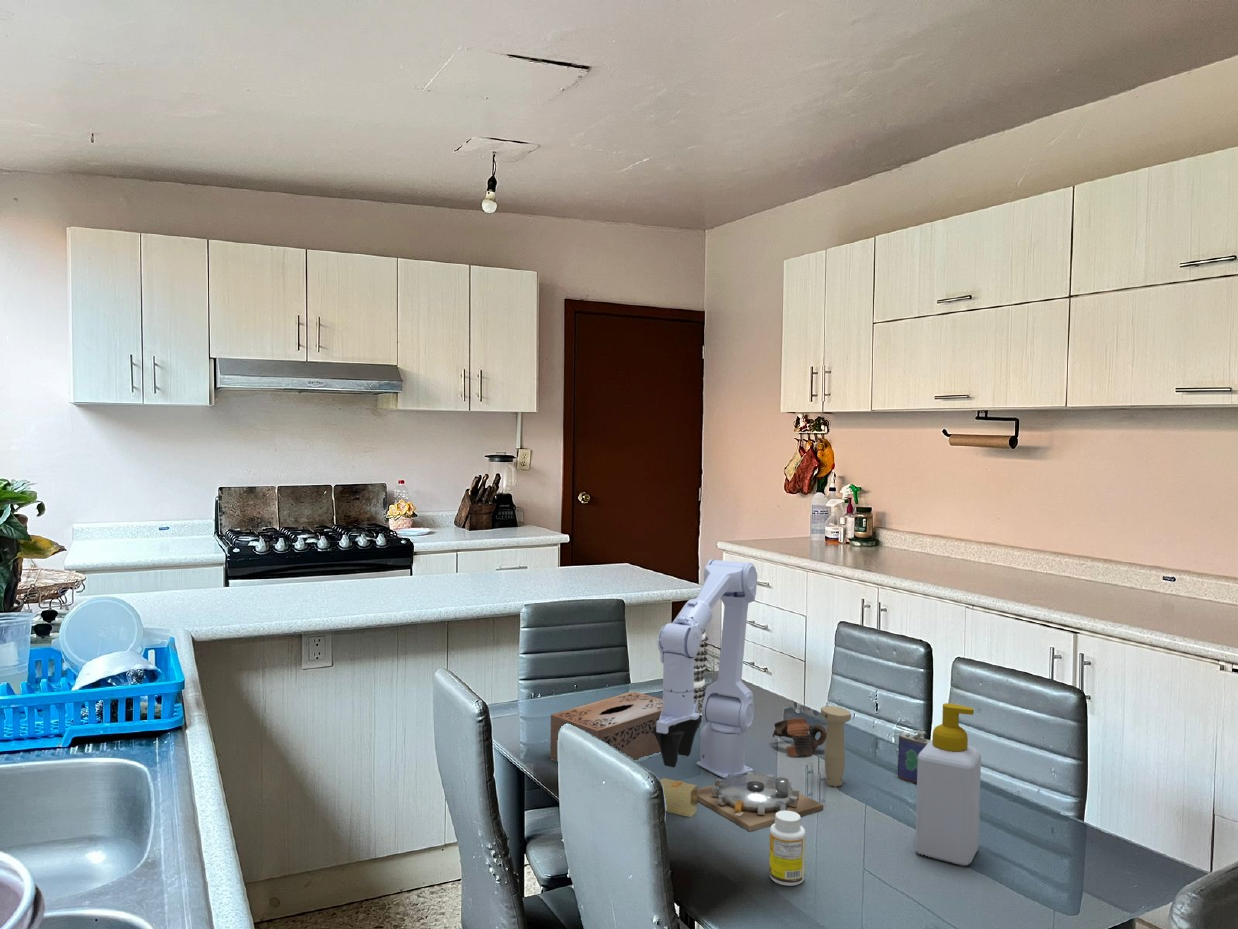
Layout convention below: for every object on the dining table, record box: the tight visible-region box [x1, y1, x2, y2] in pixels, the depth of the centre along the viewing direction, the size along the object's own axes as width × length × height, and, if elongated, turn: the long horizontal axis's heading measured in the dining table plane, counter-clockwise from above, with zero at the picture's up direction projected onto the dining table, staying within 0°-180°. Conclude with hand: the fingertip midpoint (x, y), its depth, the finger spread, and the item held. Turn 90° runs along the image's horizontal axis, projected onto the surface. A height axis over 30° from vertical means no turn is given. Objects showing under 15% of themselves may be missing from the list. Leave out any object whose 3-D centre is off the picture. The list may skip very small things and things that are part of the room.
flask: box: [897, 730, 932, 785], centre depth 183 cm, size 9×3×11 cm, turn 50°
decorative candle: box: [673, 618, 709, 715], centre depth 226 cm, size 9×9×25 cm
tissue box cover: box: [549, 690, 663, 762], centre depth 197 cm, size 26×14×10 cm, turn 136°
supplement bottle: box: [769, 811, 806, 887], centre depth 142 cm, size 6×6×10 cm
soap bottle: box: [914, 702, 982, 866], centre depth 152 cm, size 9×9×25 cm
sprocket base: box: [697, 773, 824, 832], centre depth 172 cm, size 18×18×1 cm
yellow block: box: [660, 778, 698, 818], centre depth 168 cm, size 7×3×5 cm, turn 62°
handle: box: [820, 705, 852, 788], centre depth 181 cm, size 5×6×15 cm
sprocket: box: [712, 771, 800, 815], centre depth 172 cm, size 16×16×4 cm
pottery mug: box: [772, 717, 827, 758], centre depth 201 cm, size 12×10×8 cm
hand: (677, 760), depth 168 cm, fingers open, 6 cm apart
